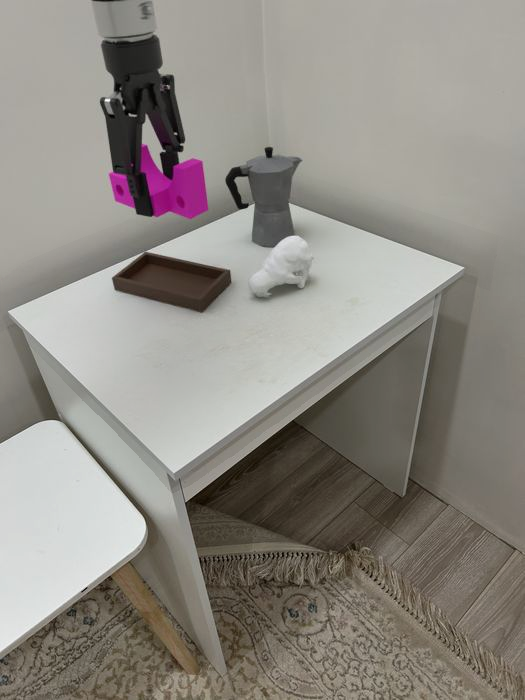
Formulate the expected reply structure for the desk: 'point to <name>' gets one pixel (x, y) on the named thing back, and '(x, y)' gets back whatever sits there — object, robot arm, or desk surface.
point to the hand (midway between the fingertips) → (160, 203)
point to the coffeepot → (267, 195)
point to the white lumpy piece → (283, 266)
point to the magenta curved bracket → (167, 187)
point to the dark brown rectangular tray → (173, 281)
